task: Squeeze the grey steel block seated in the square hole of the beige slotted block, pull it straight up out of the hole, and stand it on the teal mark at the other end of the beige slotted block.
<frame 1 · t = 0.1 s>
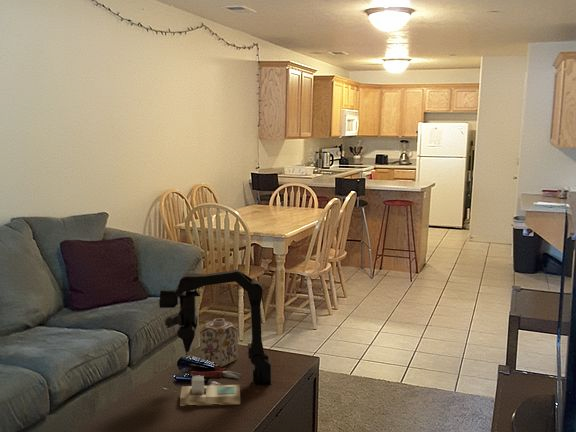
hand: (188, 347, 232), 15 cm above the table, tool pointing down, fingers open, 9 cm apart
beige slotted block: (212, 399, 221), on the table
decorative jar: (218, 361, 259), on the table
pliers: (213, 377, 243), on the table
steel block: (198, 399, 221), resting in beige slotted block
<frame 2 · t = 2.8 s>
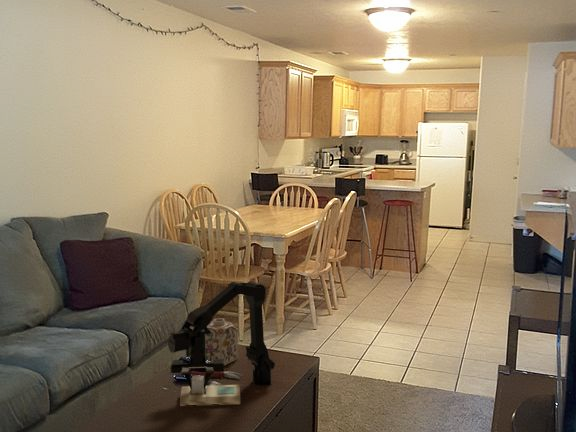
hand: (198, 388, 220), 4 cm above the table, tool pointing down, fingers closed on steel block, 4 cm apart
steel block: (198, 399, 221), resting in beige slotted block, touching gripper
everything else where it was.
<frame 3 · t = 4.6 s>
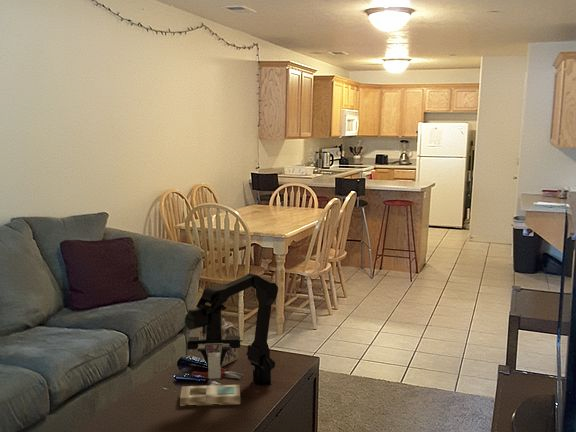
hand: (214, 365, 220), 13 cm above the table, tool pointing down, fingers closed on steel block, 4 cm apart
steel block: (214, 376, 221), point 8 cm above the table, touching gripper
everything else where it was.
when the fingers open (8 cm above the table, at t = 6.4 s): steel block drops 1 cm, resting on beige slotted block.
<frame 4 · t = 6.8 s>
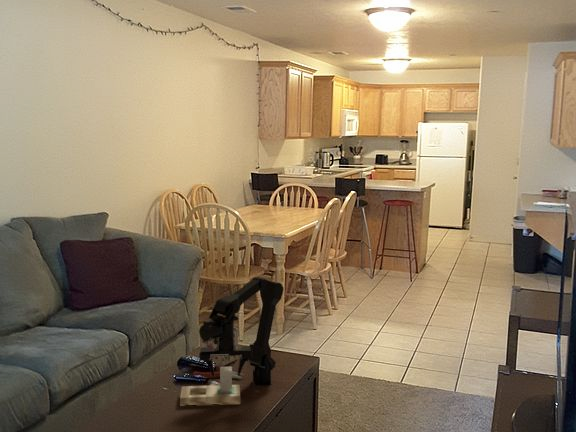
hand: (226, 376, 221), 8 cm above the table, tool pointing down, fingers open, 9 cm apart
steel block: (226, 390, 221), point 3 cm above the table, touching beige slotted block
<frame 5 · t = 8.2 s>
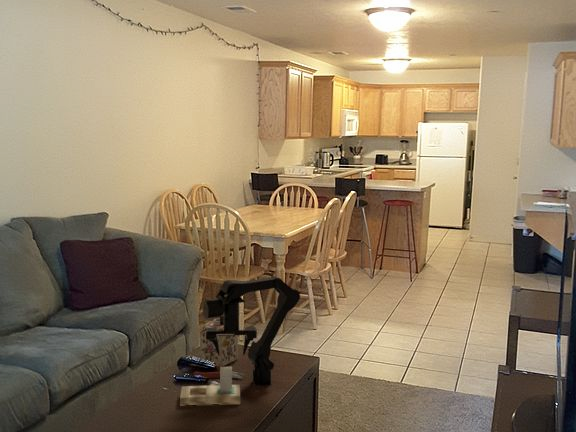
hand: (231, 355, 229), 13 cm above the table, tool pointing down, fingers open, 9 cm apart
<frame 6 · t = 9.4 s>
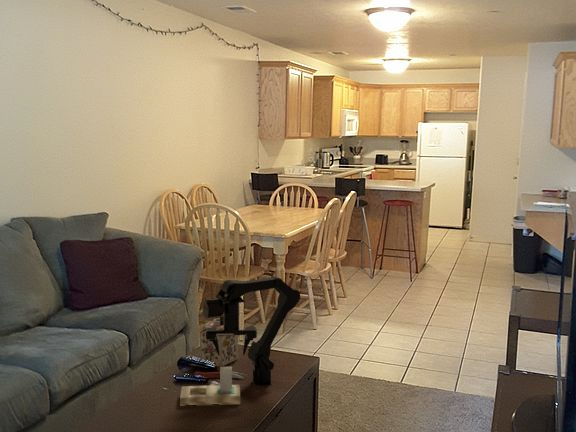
hand: (231, 355, 229), 13 cm above the table, tool pointing down, fingers open, 9 cm apart
at the end: steel block 0.0 cm from the target spot on the beige slotted block, point 3.2 cm above the beige slotted block's base; steel block tilted 0°; the gripper is holding nothing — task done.
